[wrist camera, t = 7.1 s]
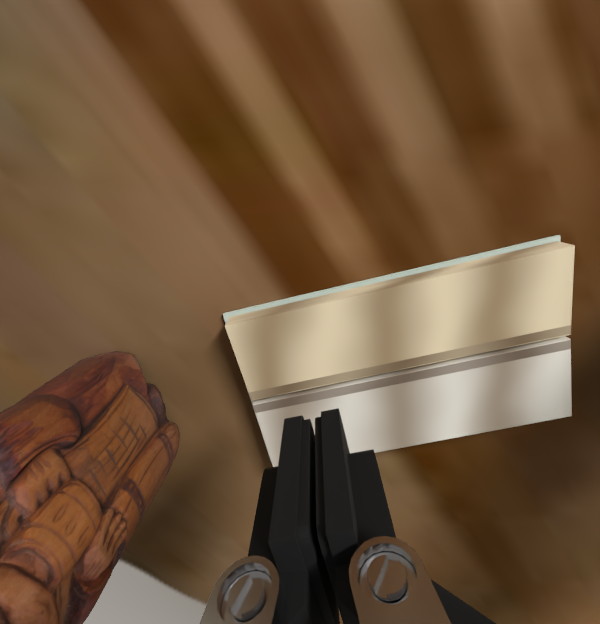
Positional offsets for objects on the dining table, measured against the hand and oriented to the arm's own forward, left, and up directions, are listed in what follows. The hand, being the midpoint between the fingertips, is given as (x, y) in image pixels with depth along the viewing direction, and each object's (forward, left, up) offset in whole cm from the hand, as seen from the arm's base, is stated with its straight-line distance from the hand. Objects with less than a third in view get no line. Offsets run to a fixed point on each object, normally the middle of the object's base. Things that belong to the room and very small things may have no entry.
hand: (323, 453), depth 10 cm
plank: (-4, +2, -12) cm, 13 cm away
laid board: (-3, +8, -12) cm, 15 cm away
